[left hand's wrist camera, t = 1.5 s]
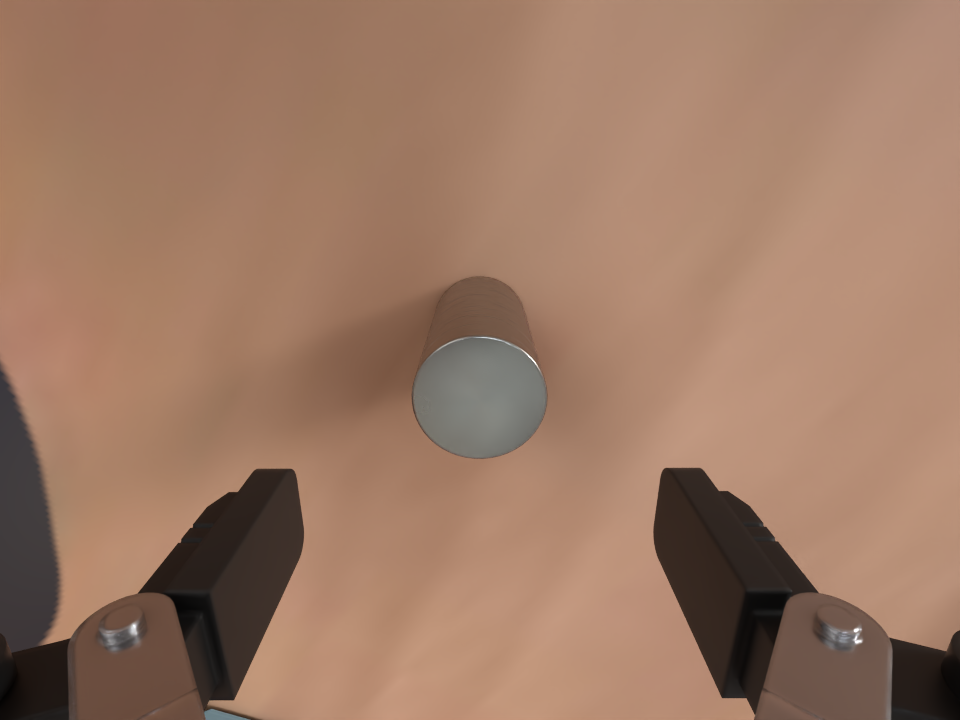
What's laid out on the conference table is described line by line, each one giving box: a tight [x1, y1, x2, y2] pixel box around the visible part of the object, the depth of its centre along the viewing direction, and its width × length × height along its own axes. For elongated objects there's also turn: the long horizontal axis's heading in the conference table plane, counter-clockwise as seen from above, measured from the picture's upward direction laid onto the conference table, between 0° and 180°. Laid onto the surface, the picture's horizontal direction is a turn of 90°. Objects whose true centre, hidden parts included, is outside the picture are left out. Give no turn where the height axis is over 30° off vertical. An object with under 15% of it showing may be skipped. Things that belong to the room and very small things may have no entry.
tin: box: [412, 277, 547, 459], centre depth 21 cm, size 4×4×9 cm
